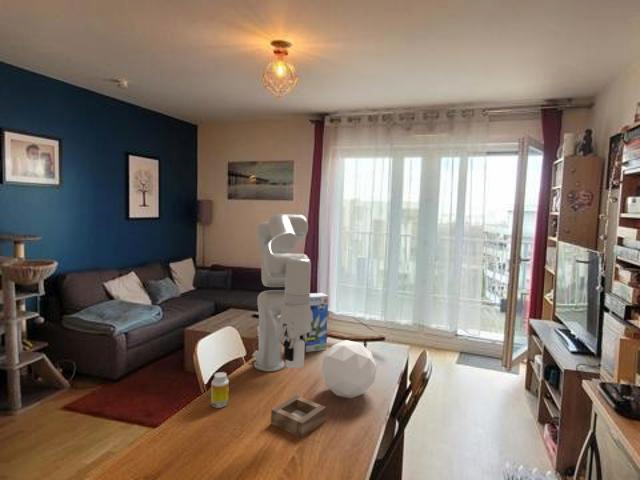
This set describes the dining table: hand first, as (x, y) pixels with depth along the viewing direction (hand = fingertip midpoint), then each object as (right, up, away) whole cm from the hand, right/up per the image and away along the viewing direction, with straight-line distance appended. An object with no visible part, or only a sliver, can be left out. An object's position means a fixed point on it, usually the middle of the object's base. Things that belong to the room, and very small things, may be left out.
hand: (294, 356), depth 121 cm
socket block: (+1, -21, +2) cm, 21 cm away
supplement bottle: (-26, -19, +11) cm, 34 cm away
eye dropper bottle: (0, -3, 0) cm, 3 cm away
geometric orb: (+18, -20, +22) cm, 35 cm away
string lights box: (+3, -16, +66) cm, 68 cm away
